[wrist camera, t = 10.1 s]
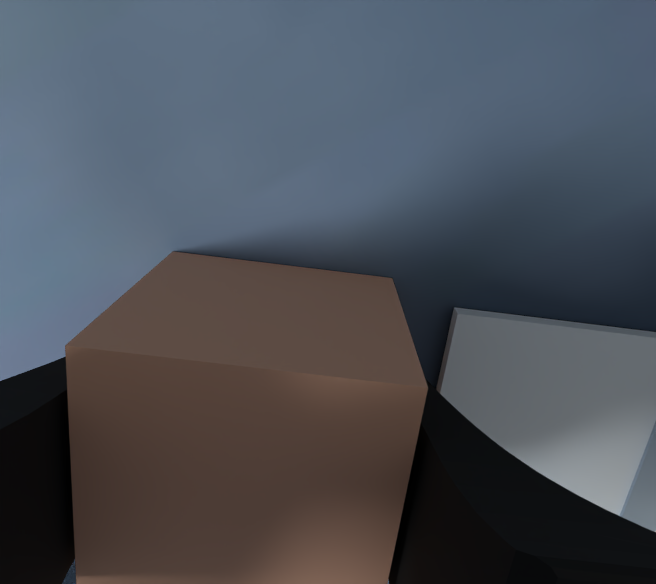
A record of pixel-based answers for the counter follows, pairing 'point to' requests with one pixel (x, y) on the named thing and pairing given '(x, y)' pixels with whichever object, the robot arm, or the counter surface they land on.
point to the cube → (242, 427)
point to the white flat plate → (562, 401)
